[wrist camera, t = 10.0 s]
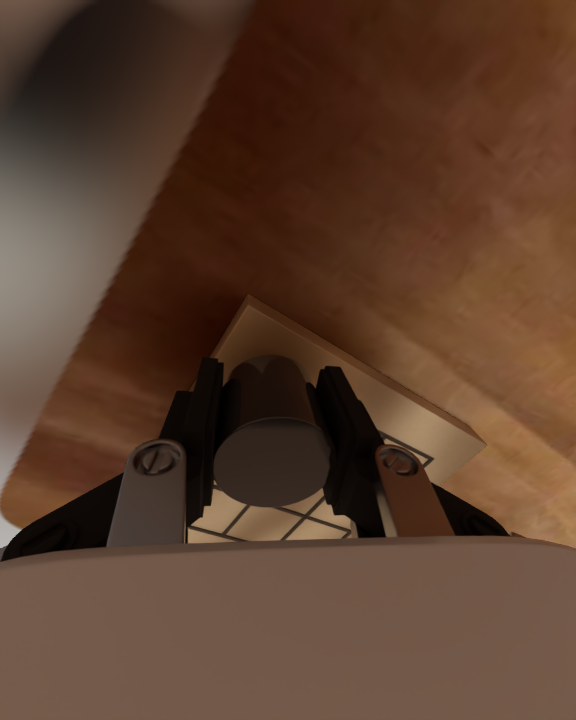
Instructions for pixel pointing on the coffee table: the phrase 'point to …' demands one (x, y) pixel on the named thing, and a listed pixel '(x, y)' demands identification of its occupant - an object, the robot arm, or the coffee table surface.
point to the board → (289, 339)
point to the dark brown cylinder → (271, 434)
